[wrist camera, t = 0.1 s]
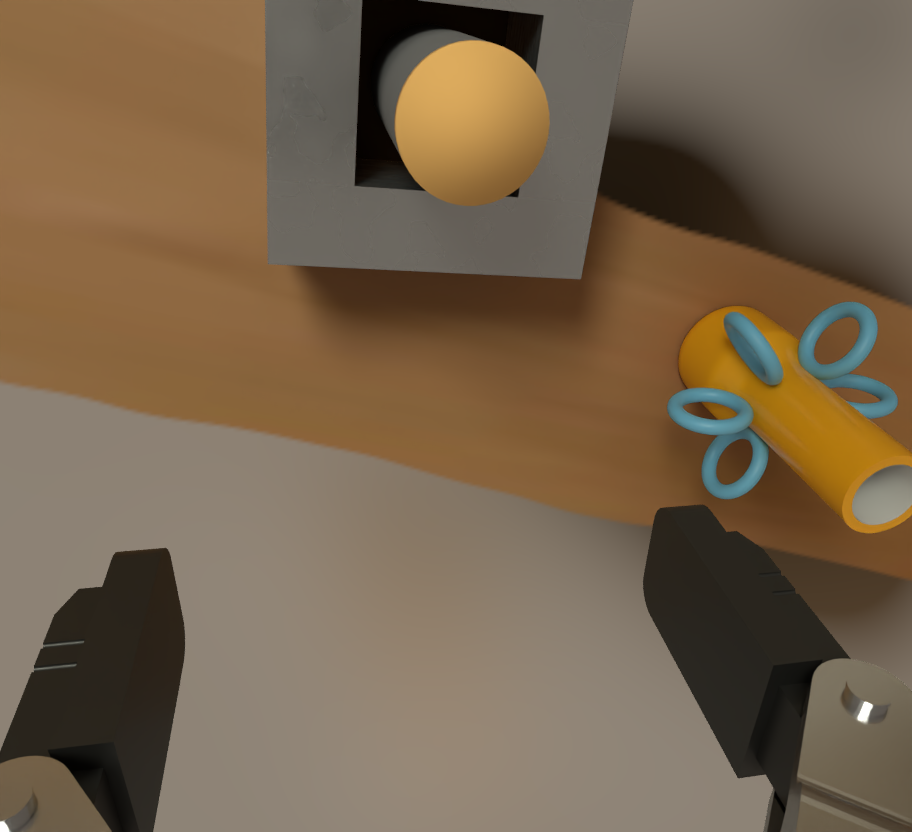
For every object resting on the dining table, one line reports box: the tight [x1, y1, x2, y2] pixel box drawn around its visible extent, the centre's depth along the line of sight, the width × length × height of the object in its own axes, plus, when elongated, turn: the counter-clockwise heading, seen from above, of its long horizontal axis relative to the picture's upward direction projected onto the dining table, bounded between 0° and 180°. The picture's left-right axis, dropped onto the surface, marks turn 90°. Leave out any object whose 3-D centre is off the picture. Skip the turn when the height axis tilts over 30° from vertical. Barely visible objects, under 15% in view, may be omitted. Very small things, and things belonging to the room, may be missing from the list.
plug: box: [370, 23, 550, 206], centre depth 31 cm, size 5×5×12 cm
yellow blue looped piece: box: [667, 302, 912, 533], centre depth 40 cm, size 12×10×15 cm
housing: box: [265, 0, 633, 279], centre depth 34 cm, size 14×14×6 cm
